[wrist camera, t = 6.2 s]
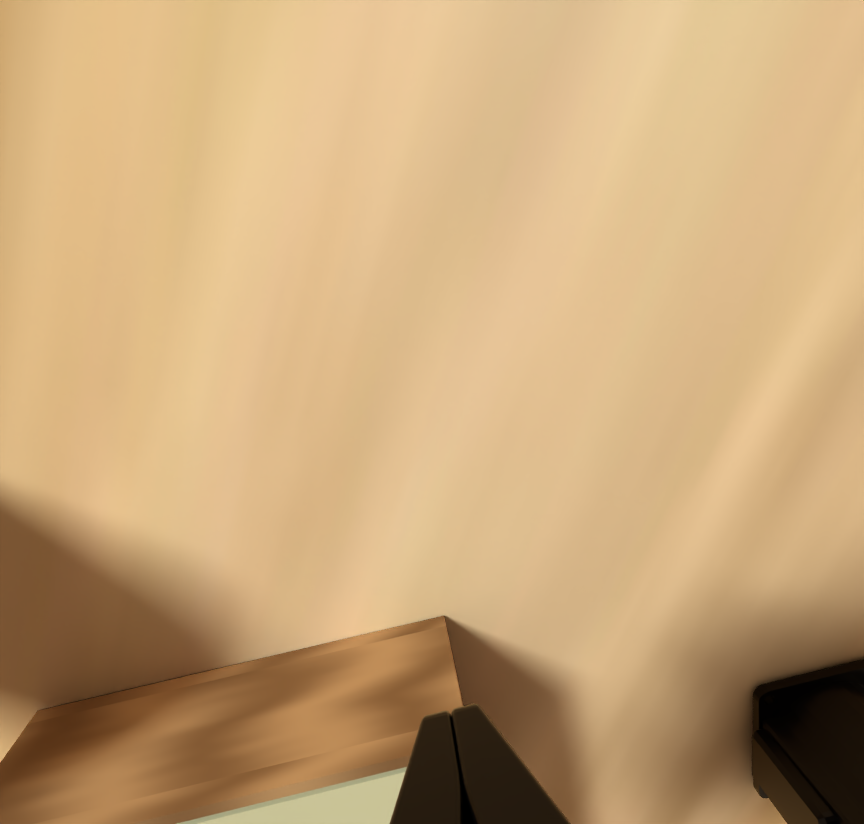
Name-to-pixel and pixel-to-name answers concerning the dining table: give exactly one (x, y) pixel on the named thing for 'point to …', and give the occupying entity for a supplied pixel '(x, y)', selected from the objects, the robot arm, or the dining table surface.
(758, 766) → the robot arm
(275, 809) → the lid
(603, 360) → the dining table surface
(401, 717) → the box
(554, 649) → the dining table surface
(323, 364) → the dining table surface
